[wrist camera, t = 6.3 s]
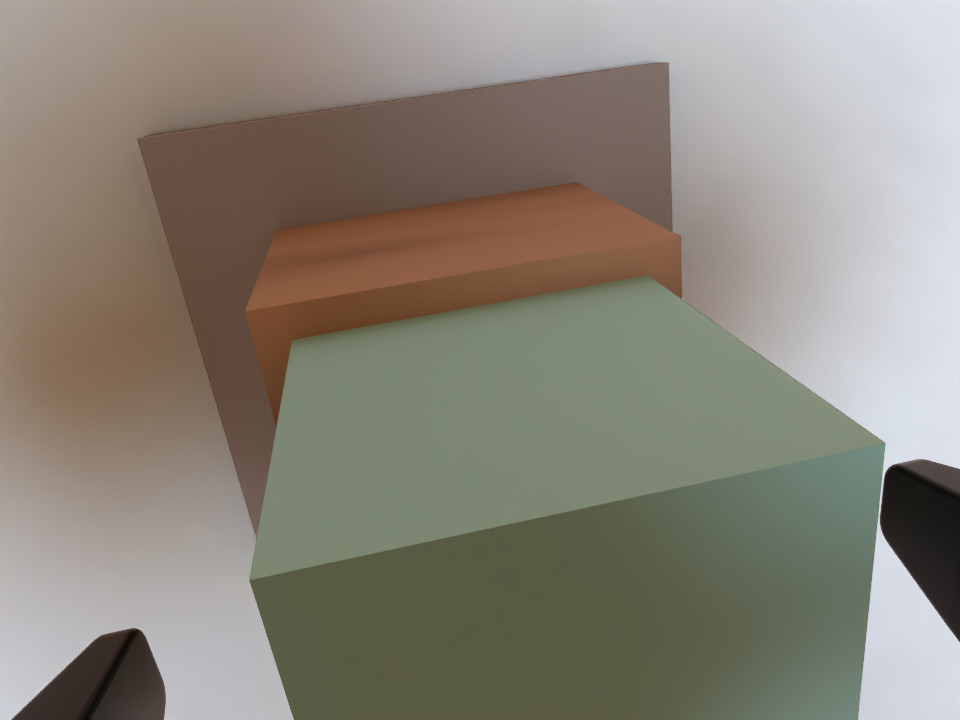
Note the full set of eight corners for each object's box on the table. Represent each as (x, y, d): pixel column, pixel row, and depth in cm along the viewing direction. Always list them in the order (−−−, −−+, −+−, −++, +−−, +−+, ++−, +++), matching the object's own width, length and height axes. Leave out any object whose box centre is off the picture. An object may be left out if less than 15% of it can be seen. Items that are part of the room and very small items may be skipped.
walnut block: (595, 440, 17) (686, 577, 13) (338, 492, 17) (337, 657, 12) (576, 182, 15) (680, 236, 10) (276, 230, 14) (244, 311, 10)
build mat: (668, 483, 19) (678, 495, 18) (272, 566, 18) (269, 582, 17) (656, 62, 15) (668, 62, 14) (145, 136, 14) (137, 139, 13)
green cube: (659, 559, 12) (844, 851, 8) (363, 626, 12) (376, 980, 7) (647, 275, 10) (885, 443, 6) (291, 339, 10) (248, 580, 5)
